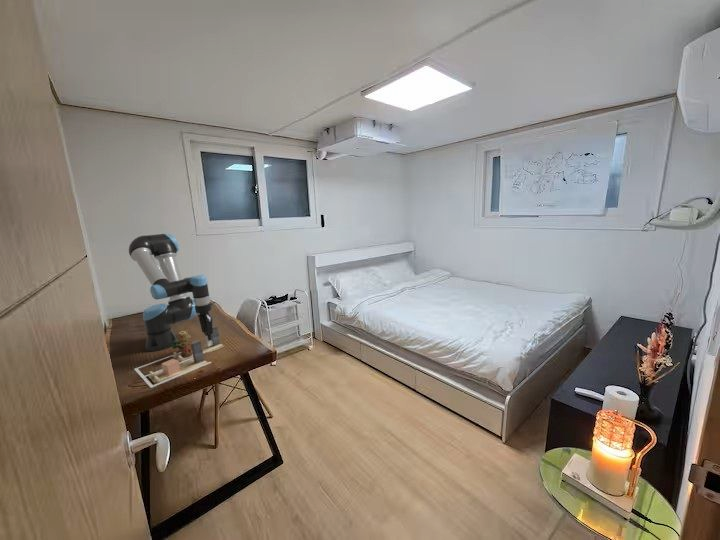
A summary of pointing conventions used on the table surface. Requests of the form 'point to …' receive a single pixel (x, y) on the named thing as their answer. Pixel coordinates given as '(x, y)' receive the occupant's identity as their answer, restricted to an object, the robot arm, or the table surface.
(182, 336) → the figurine
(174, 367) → the terracotta cube
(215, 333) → the strip
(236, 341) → the table surface
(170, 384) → the table surface
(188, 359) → the lane board
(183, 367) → the strip
